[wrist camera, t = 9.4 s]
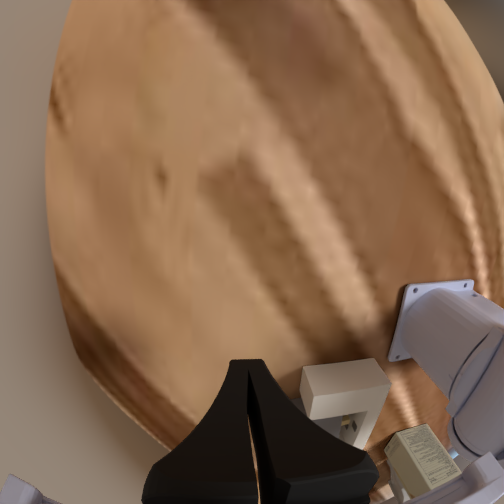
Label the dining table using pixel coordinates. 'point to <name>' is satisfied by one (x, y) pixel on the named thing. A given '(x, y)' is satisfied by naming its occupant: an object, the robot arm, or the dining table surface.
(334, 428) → the plug
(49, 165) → the dining table surface
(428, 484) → the skincare box
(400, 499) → the light switch
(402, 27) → the dining table surface
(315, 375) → the socket block
